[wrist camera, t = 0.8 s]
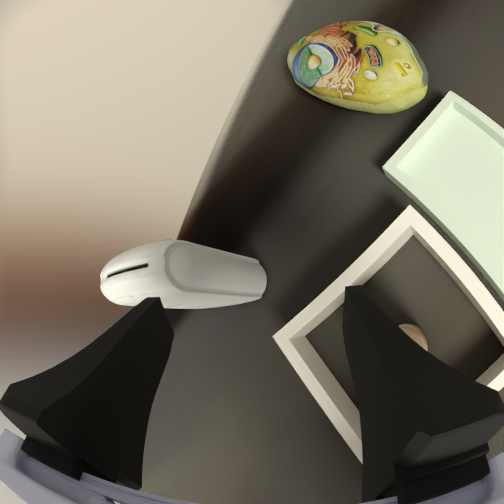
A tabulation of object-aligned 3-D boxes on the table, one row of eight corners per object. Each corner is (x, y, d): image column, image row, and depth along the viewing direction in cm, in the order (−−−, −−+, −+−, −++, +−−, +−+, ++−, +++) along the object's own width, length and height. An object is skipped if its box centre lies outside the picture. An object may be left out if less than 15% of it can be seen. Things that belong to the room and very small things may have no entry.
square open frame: (520, 350, 13) (532, 356, 11) (380, 459, 18) (371, 476, 15) (412, 216, 20) (409, 204, 18) (290, 333, 25) (272, 336, 22)
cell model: (399, 139, 19) (247, 59, 23) (394, 149, 26) (276, 82, 29) (451, 43, 15) (300, -22, 18) (438, 72, 22) (319, 13, 25)
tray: (592, 245, 10) (601, 241, 8) (529, 340, 13) (536, 343, 11) (450, 102, 19) (450, 90, 17) (386, 176, 22) (382, 167, 20)
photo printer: (190, 311, 32) (87, 305, 22) (188, 273, 33) (89, 256, 23) (270, 302, 26) (159, 294, 16) (266, 255, 27) (159, 223, 17)
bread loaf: (436, 349, 17) (439, 364, 13) (400, 379, 19) (388, 403, 14) (409, 313, 19) (402, 316, 14) (374, 344, 20) (354, 356, 16)
